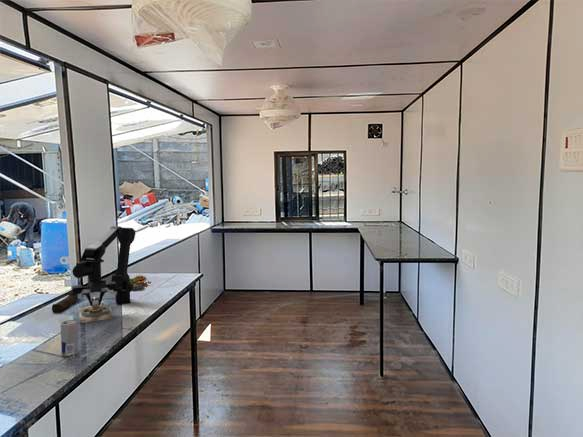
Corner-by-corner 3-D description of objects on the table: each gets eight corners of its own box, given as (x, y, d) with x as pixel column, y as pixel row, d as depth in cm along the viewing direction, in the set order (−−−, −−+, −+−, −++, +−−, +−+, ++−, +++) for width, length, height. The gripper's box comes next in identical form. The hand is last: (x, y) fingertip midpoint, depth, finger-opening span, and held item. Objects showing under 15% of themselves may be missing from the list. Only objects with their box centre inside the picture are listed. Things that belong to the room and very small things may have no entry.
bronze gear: (103, 306, 189) (103, 294, 188) (105, 311, 182) (105, 298, 182) (86, 309, 185) (85, 296, 184) (86, 313, 178) (86, 301, 178)
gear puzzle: (130, 279, 254) (129, 273, 253) (155, 278, 256) (155, 272, 255) (114, 292, 223) (114, 285, 223) (143, 292, 225) (143, 285, 225)
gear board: (109, 305, 198) (109, 299, 197) (113, 318, 181) (113, 311, 180) (78, 310, 191) (77, 303, 190) (79, 323, 174) (79, 315, 173)
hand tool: (61, 313, 186) (61, 302, 186) (51, 313, 186) (51, 302, 186) (84, 299, 209) (83, 289, 208) (75, 299, 209) (74, 289, 208)
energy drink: (66, 350, 146) (64, 319, 144) (81, 350, 146) (79, 319, 145) (58, 357, 140) (57, 325, 139) (74, 356, 141) (73, 324, 140)
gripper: (71, 279, 170) (73, 313, 172) (118, 274, 180) (118, 307, 181) (71, 273, 180) (72, 306, 181) (115, 269, 189) (116, 300, 191)
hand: (95, 305), depth 184 cm, fingers closed on bronze gear, 3 cm apart
